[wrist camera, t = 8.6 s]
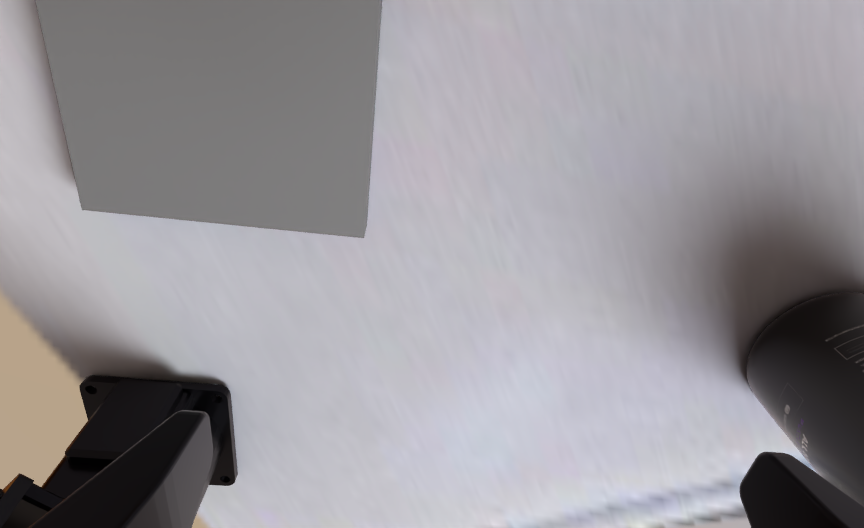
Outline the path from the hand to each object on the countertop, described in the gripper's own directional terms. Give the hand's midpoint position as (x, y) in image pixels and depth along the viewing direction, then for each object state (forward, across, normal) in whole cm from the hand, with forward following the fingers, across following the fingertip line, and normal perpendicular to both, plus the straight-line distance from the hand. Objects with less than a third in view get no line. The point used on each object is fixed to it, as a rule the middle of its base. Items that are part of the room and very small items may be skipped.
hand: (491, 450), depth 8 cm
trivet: (+12, +8, -4) cm, 15 cm away
